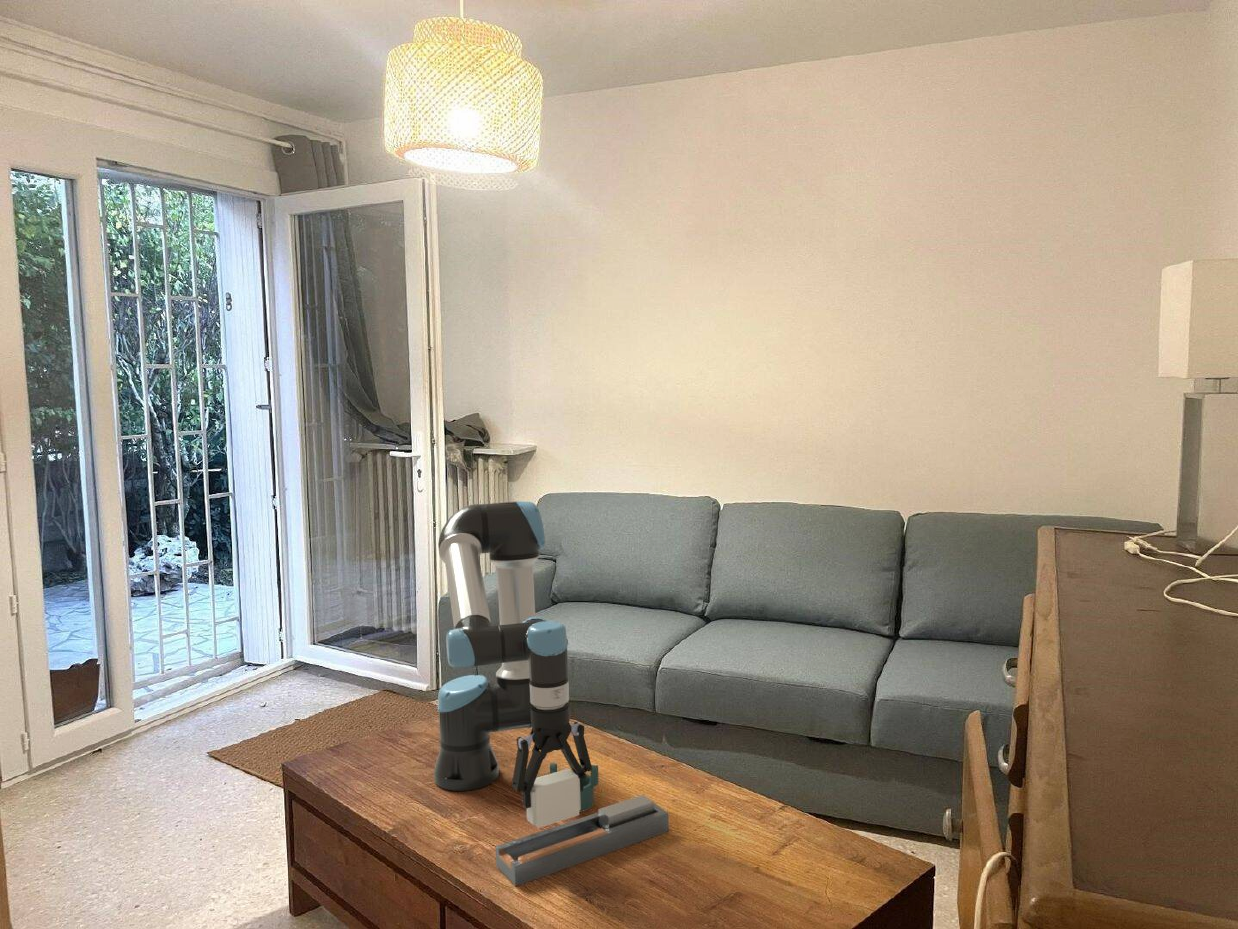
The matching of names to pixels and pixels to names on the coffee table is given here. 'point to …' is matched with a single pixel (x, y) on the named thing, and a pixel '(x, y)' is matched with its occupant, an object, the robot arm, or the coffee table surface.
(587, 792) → the teal cylindrical holder
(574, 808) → the block
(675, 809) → the coffee table surface
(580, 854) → the rack
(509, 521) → the robot arm
